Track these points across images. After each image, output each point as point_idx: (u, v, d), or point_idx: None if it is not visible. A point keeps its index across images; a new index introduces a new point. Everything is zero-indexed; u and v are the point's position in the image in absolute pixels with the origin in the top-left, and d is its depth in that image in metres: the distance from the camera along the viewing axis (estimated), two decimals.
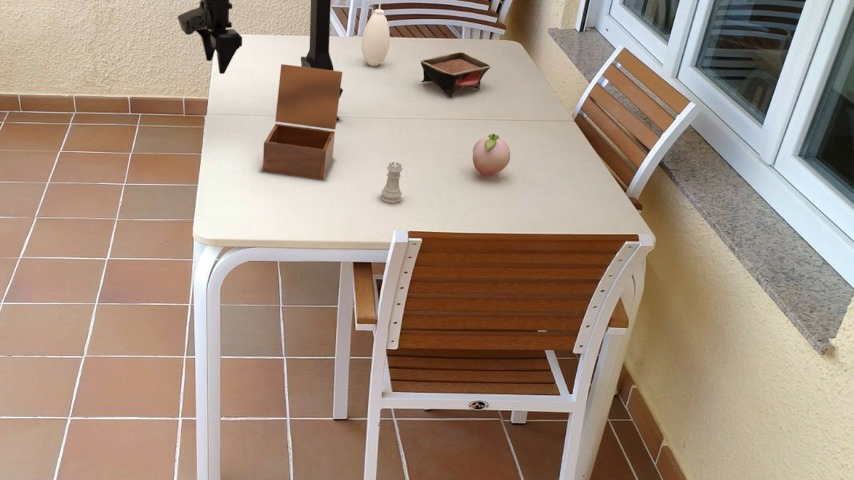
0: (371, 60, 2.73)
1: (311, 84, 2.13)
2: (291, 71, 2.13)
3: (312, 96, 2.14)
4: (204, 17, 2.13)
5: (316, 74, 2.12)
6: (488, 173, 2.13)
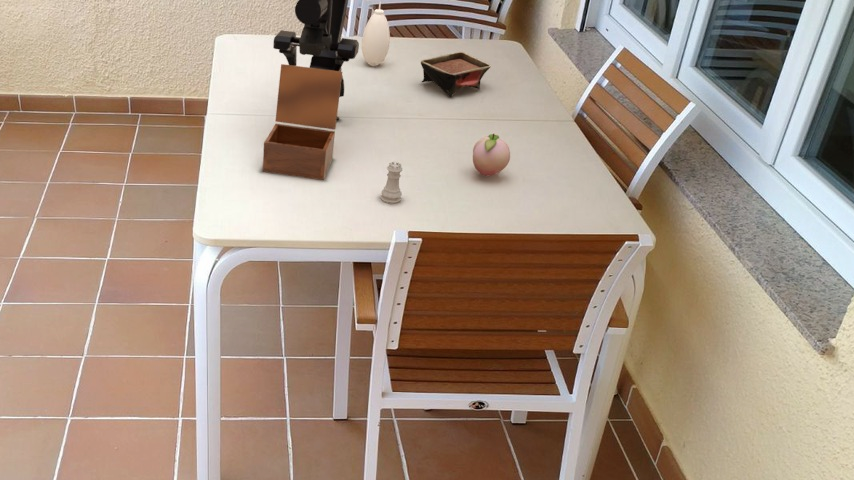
0: (371, 60, 2.73)
1: (311, 84, 2.13)
2: (291, 71, 2.13)
3: (312, 96, 2.14)
4: None
5: (316, 74, 2.12)
6: (488, 173, 2.13)
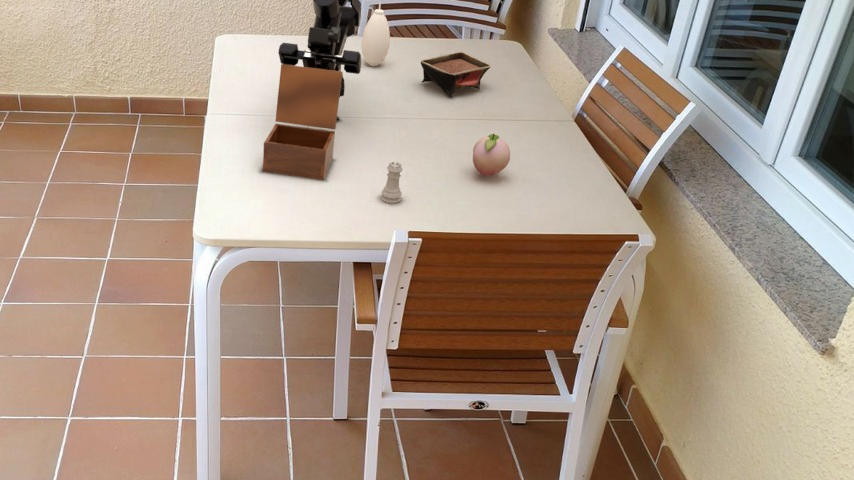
0: (371, 60, 2.73)
1: (311, 84, 2.13)
2: (291, 71, 2.13)
3: (312, 96, 2.14)
4: None
5: (316, 74, 2.12)
6: (488, 173, 2.13)
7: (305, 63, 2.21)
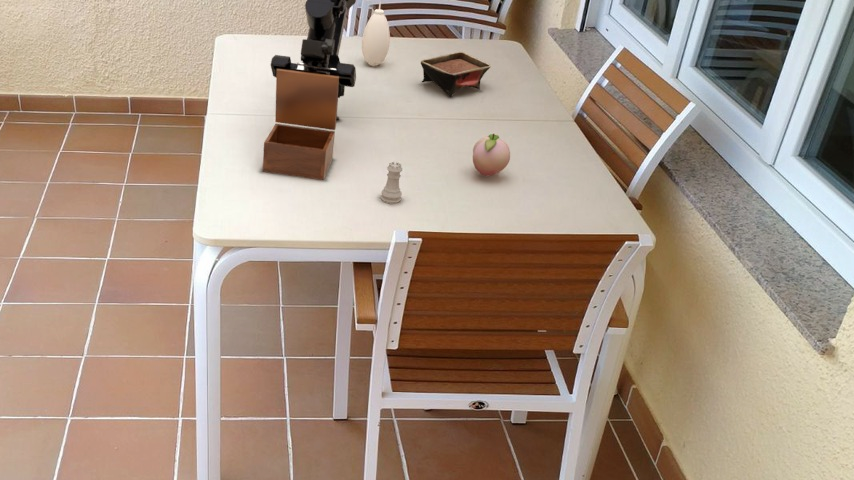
0: (371, 60, 2.73)
1: (308, 89, 2.10)
2: (287, 77, 2.09)
3: (310, 100, 2.12)
4: None
5: (312, 80, 2.08)
6: (488, 173, 2.13)
7: None
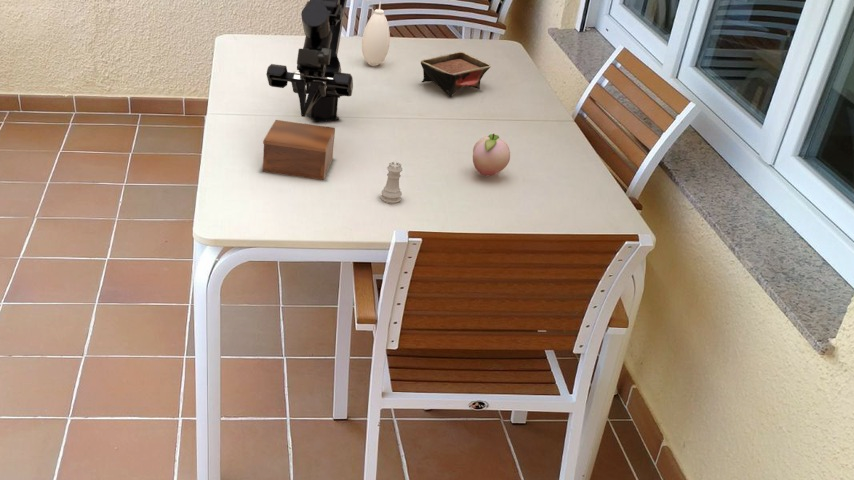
0: (371, 60, 2.73)
1: None
2: None
3: None
4: None
5: None
6: (488, 173, 2.13)
7: (294, 85, 2.12)
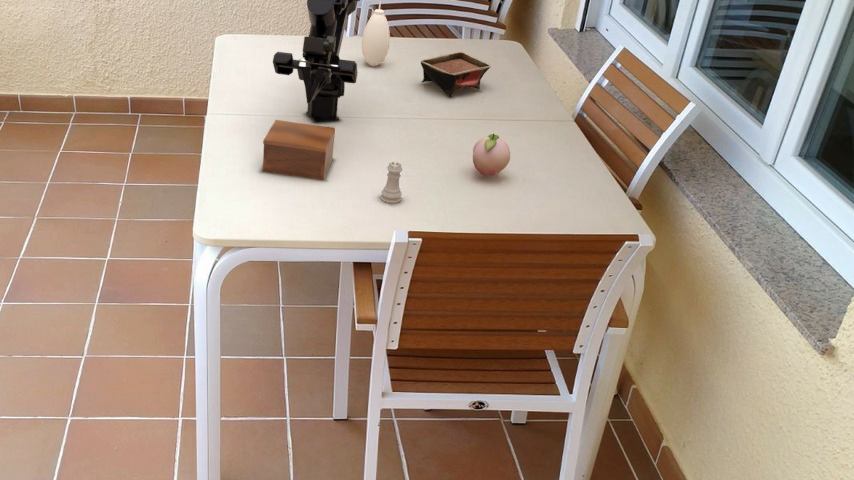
0: (371, 60, 2.73)
1: None
2: None
3: None
4: None
5: None
6: (488, 173, 2.13)
7: (300, 73, 2.17)
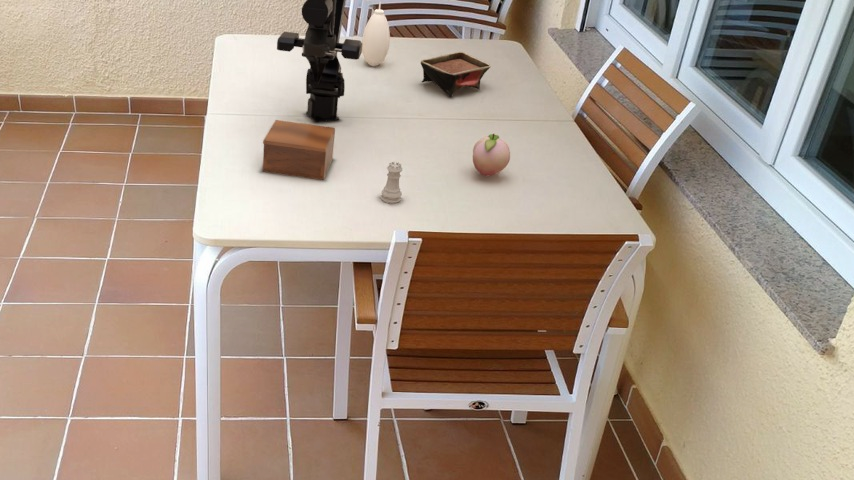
0: (371, 60, 2.73)
1: None
2: None
3: None
4: None
5: None
6: (488, 173, 2.13)
7: None
